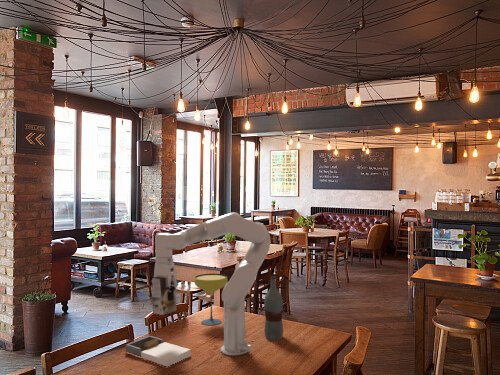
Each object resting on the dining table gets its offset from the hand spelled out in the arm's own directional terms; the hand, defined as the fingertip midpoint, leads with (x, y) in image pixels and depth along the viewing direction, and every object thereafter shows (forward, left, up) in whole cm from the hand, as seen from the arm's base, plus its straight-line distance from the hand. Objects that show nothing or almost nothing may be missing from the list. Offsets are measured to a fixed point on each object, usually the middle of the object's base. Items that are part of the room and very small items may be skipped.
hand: (165, 299), depth 193 cm
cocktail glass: (+9, -42, -23) cm, 49 cm away
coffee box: (0, 0, -6) cm, 6 cm away
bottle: (-32, -41, -23) cm, 57 cm away
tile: (+4, +6, -21) cm, 23 cm away
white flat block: (-6, +6, -23) cm, 25 cm away
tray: (+7, +6, -23) cm, 25 cm away
